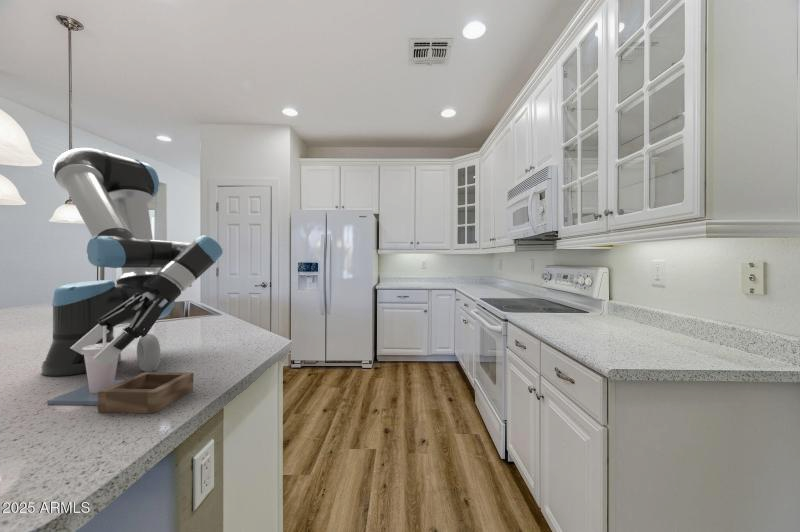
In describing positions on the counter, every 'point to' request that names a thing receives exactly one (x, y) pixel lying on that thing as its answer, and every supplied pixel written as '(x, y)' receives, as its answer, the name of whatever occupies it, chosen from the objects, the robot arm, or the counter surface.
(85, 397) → the coaster
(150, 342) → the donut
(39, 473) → the counter surface
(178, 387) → the collar
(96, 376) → the smoothie
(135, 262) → the robot arm
